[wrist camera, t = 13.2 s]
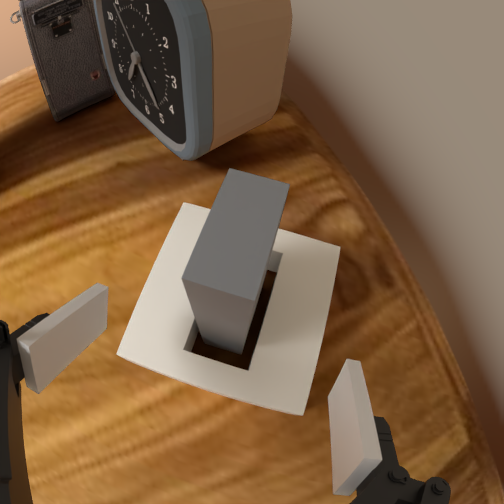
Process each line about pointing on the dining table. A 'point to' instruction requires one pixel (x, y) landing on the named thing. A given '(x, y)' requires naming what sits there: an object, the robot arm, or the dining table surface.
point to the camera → (66, 53)
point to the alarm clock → (196, 65)
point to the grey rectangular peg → (233, 257)
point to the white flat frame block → (271, 331)
